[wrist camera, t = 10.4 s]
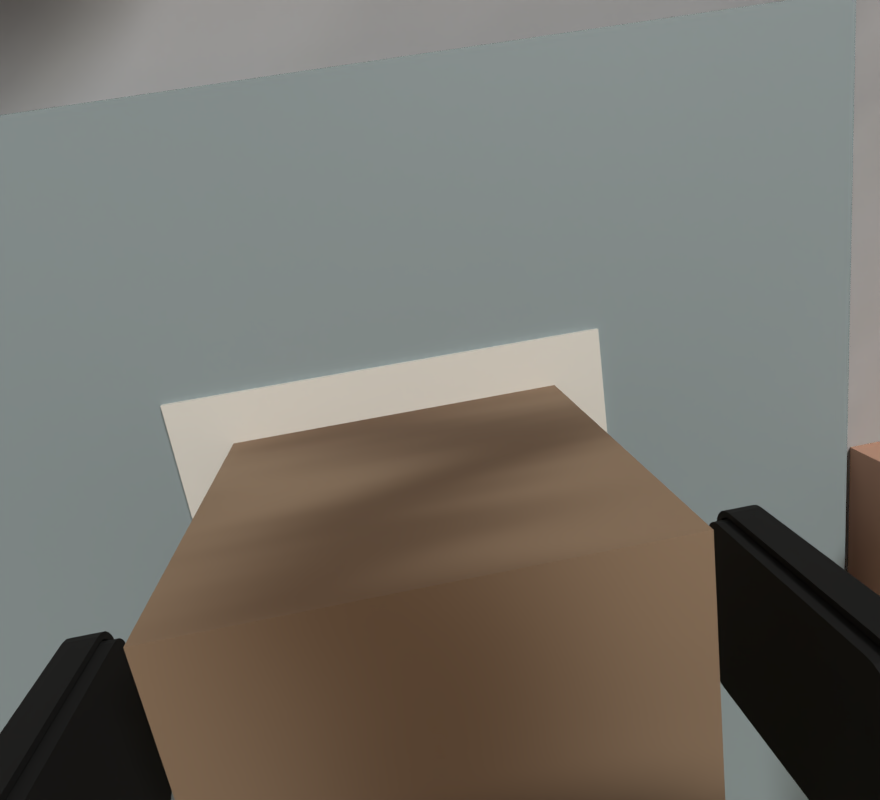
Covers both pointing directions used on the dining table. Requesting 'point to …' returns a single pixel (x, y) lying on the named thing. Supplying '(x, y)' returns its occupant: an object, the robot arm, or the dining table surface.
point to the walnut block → (437, 618)
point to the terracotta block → (865, 515)
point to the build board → (427, 287)
